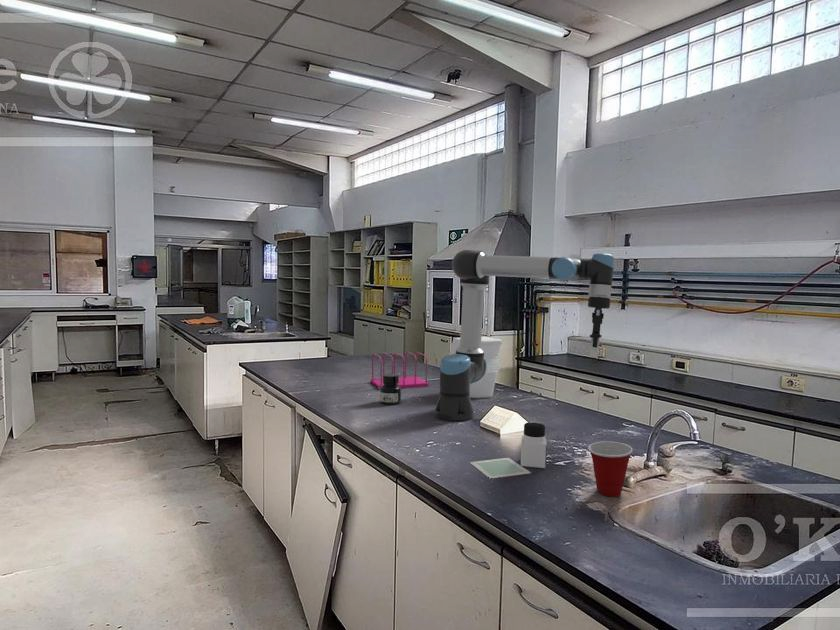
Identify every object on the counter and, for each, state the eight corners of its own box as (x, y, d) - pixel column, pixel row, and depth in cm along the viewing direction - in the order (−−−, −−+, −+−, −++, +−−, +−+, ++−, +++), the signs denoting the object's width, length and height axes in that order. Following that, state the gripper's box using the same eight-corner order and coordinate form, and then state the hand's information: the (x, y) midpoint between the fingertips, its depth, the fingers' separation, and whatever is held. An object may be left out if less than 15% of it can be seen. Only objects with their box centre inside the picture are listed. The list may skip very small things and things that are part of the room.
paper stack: (505, 397, 241) (506, 340, 239) (448, 400, 234) (449, 342, 232) (487, 387, 261) (488, 335, 259) (434, 390, 254) (435, 336, 252)
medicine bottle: (545, 468, 153) (547, 427, 152) (520, 466, 155) (522, 425, 154) (545, 460, 160) (546, 421, 159) (520, 458, 162) (522, 419, 161)
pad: (489, 478, 145) (490, 478, 145) (469, 462, 158) (469, 462, 158) (531, 473, 150) (531, 472, 150) (508, 457, 162) (508, 457, 162)
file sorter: (370, 382, 270) (370, 351, 269) (416, 379, 279) (417, 349, 277) (379, 389, 254) (379, 357, 252) (428, 386, 262) (429, 355, 261)
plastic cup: (579, 484, 142) (581, 440, 141) (618, 483, 143) (620, 439, 142) (596, 501, 132) (598, 454, 131) (638, 500, 133) (640, 453, 132)
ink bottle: (375, 403, 226) (375, 375, 225) (384, 399, 235) (385, 372, 234) (396, 406, 223) (396, 377, 222) (405, 401, 231) (405, 374, 230)
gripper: (611, 295, 179) (605, 358, 179) (610, 299, 203) (604, 355, 203) (587, 294, 182) (582, 356, 182) (589, 298, 205) (584, 353, 205)
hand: (594, 355), depth 192 cm, fingers open, 13 cm apart
